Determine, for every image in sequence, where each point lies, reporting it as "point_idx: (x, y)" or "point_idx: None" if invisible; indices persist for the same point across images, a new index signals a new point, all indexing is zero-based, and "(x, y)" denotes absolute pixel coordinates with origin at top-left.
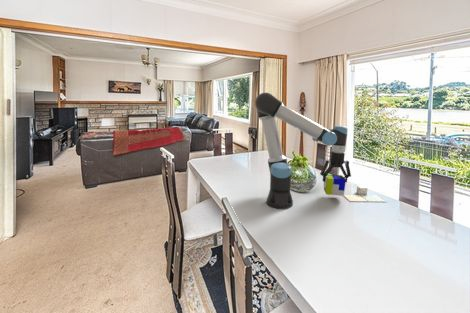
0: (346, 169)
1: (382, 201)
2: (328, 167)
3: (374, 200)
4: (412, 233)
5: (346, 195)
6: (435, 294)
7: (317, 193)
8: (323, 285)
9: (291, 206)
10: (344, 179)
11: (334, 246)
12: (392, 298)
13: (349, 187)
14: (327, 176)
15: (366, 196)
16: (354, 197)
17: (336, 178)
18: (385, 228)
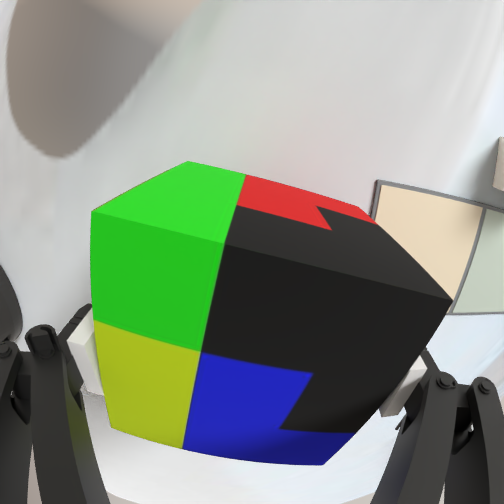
0: (478, 483)
1: (501, 311)
2: (42, 502)
3: (485, 299)
4: (346, 477)
5: (401, 198)
6: None
7: (164, 116)
8: (120, 492)
9: (21, 328)
10: (318, 459)
11: (142, 478)
12: None
13: (496, 35)
14: (109, 369)
15: (499, 235)
16: (428, 246)
17: (228, 442)
18: (300, 471)
